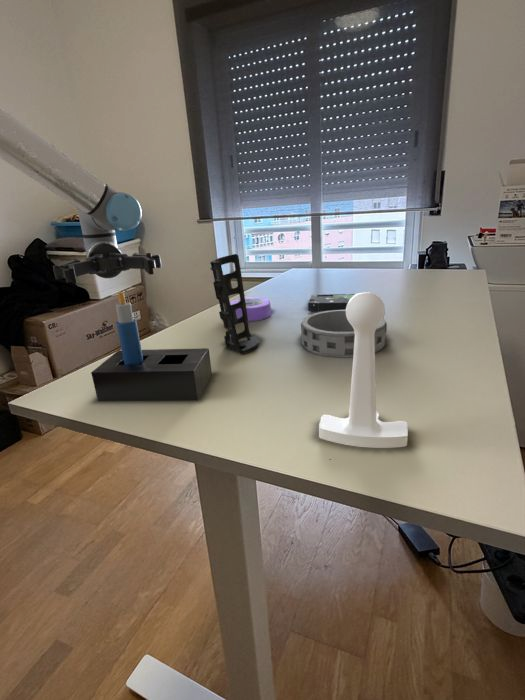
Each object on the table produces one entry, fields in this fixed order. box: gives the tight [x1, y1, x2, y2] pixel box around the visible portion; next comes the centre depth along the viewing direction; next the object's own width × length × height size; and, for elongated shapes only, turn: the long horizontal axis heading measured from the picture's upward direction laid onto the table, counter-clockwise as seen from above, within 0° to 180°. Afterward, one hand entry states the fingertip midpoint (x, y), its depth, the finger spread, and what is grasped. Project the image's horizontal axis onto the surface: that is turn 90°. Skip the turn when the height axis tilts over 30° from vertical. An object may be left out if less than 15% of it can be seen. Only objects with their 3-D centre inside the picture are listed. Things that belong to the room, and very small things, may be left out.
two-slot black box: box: [90, 347, 213, 402], centre depth 71 cm, size 10×17×6 cm, turn 84°
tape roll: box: [230, 297, 272, 322], centre depth 114 cm, size 12×12×4 cm
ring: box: [300, 310, 388, 358], centre depth 88 cm, size 18×18×5 cm
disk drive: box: [307, 293, 357, 312], centre depth 117 cm, size 10×3×15 cm
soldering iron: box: [114, 291, 143, 365], centre depth 70 cm, size 3×3×18 cm
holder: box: [209, 253, 261, 355], centre depth 88 cm, size 11×8×20 cm
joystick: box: [318, 291, 409, 449], centre depth 51 cm, size 11×8×20 cm
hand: (112, 271), depth 74 cm, fingers open, 13 cm apart
